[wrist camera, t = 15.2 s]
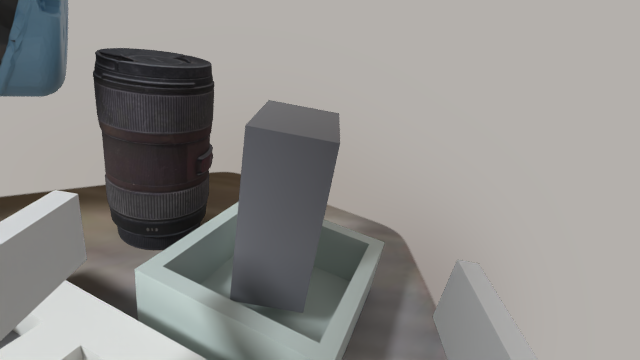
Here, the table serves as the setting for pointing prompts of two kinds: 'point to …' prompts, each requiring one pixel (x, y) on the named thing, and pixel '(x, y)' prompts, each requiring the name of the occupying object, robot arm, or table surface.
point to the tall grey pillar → (282, 203)
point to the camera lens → (155, 142)
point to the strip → (86, 332)
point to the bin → (247, 319)
